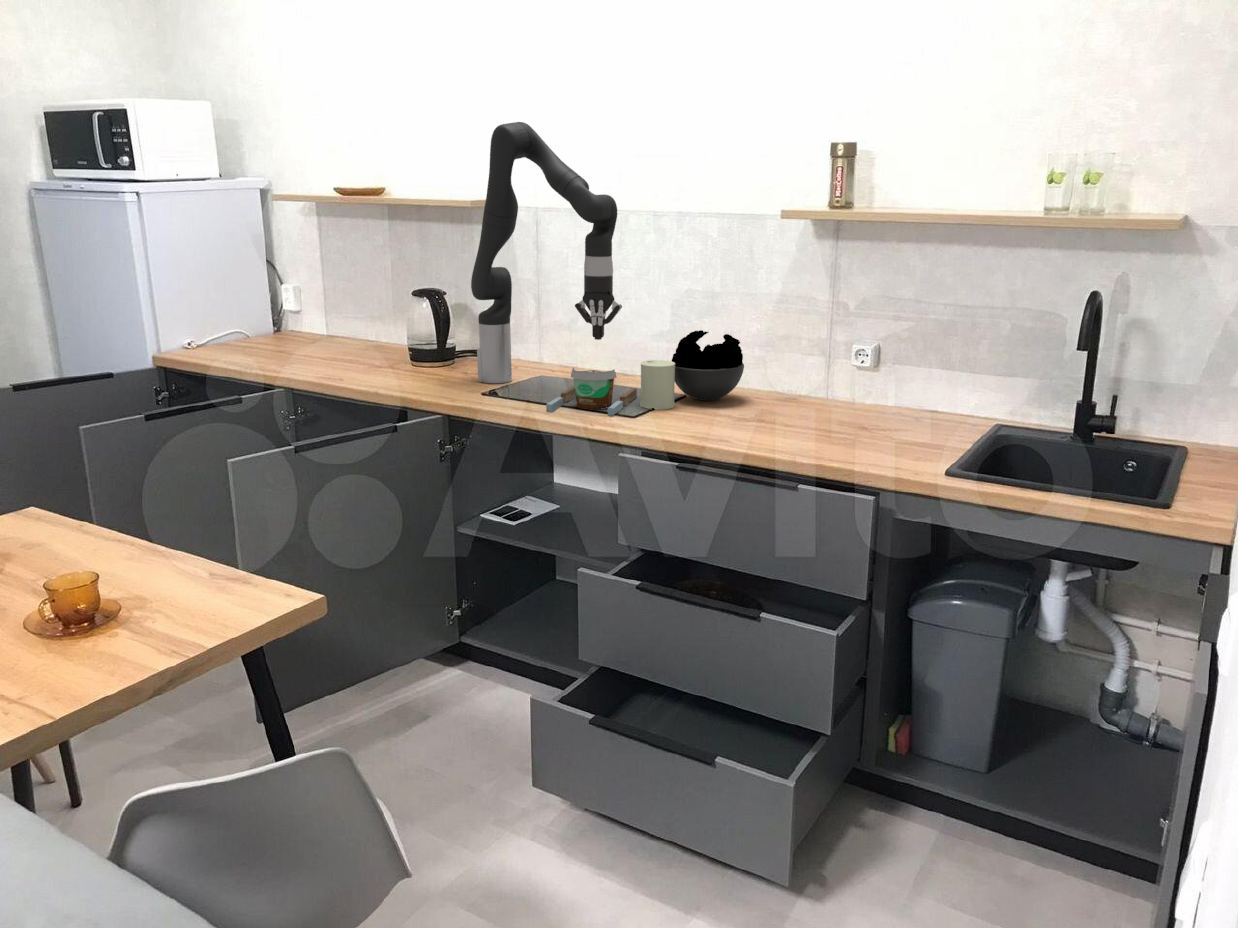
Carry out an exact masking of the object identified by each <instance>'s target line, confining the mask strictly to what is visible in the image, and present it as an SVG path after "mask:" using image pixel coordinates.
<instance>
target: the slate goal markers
mask: <svg viewBox="0 0 1238 928" xmlns="http://www.w3.org/2000/svg"><path fill="white" fill-rule="evenodd" d="M562 406H564V403H563V397H561V396H557V397H556V398H554V399H553V400H551V401H549V402H547V403H546V410H545V411H546V412H547V413H553V412H554V411H556V410H558V409H559V408H560V407H562ZM622 408H623V409H624V406H623V401H620V400H616V401H615V402H614V403H611V406H610V407H609V408H607V416H608V417H614V416H615V415H614V414H615V413H617V412H618V411H619V412H620V411H622V410H623V409H622ZM621 409H622V410H621ZM619 412H618V413H619ZM618 413H617V414H618Z"/></svg>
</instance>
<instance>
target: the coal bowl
mask: <svg viewBox="0 0 1238 928" xmlns="http://www.w3.org/2000/svg"><path fill="white" fill-rule="evenodd" d="M707 334H709V331H704V330H694V331H691V332H689V333H688V334H687V335H686V336H683V338H680V340H679V341H678V344H677V346H676V349H675V353H673V354H672V358H671V361H672V362H674V363H675V381H674V384H676V386H677V387H678V389H680V391H681V392H682V393H684V394H685V395H687V396H689V397H690V398H693V399H694V400H695V399H696V400H698V401H714V400H715V401H716V400H718V399H721V398H723V397H725V396H727V395H728V394H730V393H731V392H732V391H733V390H734V389H735V388H736V387H737V386H738V384H739V383H740V380H741V378H742V376H743V374H744V371H745V364H744V363H743V360H744V354H743V353H742V351H743V350H742V348H741V346H740V344H741V340H739V339H737V338H735V337H733V336H732V335H731V334H729V333H727V334H726V333H725V334H724V335H723V336H722V337H723V339H724V341H723V342H722V343H714V344H712V345H711V344H706V345H705V346H704V347H703V348H702V349H703V350H702V349H701V346H700V345H699V344H698V343H697V342H698V341H699V340H700V339H701V338H703V337H704V336H705V335H707Z"/></svg>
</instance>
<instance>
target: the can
mask: <svg viewBox="0 0 1238 928" xmlns="http://www.w3.org/2000/svg"><path fill="white" fill-rule="evenodd" d="M639 406H640V407H641V406H642V407H648V408H654V409H655V410H656V411H661V410H662V411H663V410H670V409H671V410H672V409H673V408H675V407H676V406H675V363H674V362H672V360H663V359H653V360H652V359H650V360H645V361H641V362H640V404H639ZM642 407H641V408H642ZM655 410H654V411H655Z"/></svg>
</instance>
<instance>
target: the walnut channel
mask: <svg viewBox="0 0 1238 928" xmlns="http://www.w3.org/2000/svg"><path fill="white" fill-rule="evenodd" d="M637 391H638V389H637V387H636V388H635V387H631V388H630V389H628V390H627V391H626V392H624V393H623V394H622V395H620V396H619V401H623V407H626V405H627V404H628V403H629V404H631V403H632V400H633V399H634V398H635V399H636V398H638V396H637V395H638V394H637V393H638V392H637ZM560 397H563V402H567V401H568V402H569V400H570V399H571V400H572V398H573V399H574V398H576V397H575V387H574V384H573V385H571V386H570V387H569V388H567V389H565V390H564V391H562V392H561V393H560ZM635 399H634V400H635ZM571 400H570V401H571ZM634 400H633V401H634ZM568 402H567V403H568ZM629 404H628V405H629ZM628 405H627V406H628Z"/></svg>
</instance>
